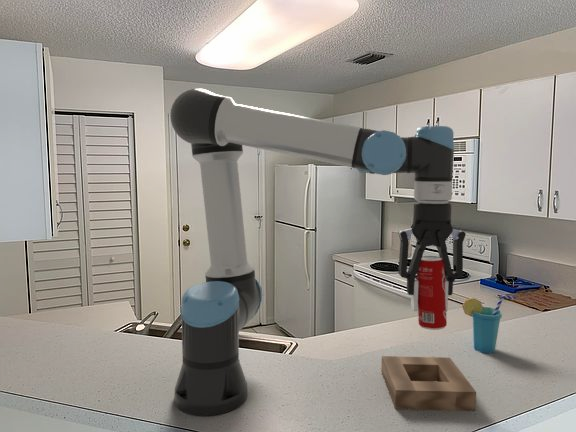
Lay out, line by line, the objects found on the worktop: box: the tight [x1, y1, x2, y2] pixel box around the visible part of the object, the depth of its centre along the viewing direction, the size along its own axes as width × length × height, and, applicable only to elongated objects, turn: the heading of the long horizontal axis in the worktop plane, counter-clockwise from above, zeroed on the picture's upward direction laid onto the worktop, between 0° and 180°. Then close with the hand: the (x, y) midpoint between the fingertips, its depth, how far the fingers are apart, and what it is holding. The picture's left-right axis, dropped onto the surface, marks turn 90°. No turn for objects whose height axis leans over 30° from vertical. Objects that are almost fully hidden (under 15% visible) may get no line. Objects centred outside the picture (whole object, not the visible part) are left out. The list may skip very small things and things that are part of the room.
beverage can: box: [416, 255, 448, 331], centre depth 94 cm, size 6×6×15 cm
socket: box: [380, 355, 477, 412], centre depth 96 cm, size 16×16×4 cm
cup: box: [461, 294, 516, 354], centre depth 118 cm, size 14×8×15 cm, turn 96°
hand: (428, 309), depth 94 cm, fingers closed on beverage can, 6 cm apart
